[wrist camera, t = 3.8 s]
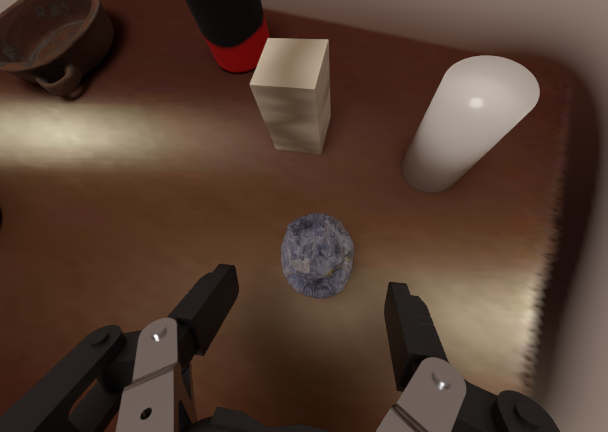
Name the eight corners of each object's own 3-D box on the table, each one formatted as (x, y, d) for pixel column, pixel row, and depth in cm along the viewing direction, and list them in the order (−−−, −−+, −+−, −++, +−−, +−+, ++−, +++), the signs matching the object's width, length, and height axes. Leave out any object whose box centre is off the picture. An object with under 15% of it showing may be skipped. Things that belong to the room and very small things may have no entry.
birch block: (275, 149, 25) (249, 84, 17) (287, 112, 26) (267, 38, 19) (321, 154, 24) (314, 89, 16) (330, 116, 25) (328, 39, 18)
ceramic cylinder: (392, 177, 22) (427, 102, 13) (415, 138, 23) (461, 46, 14) (444, 202, 20) (521, 135, 12) (467, 159, 21) (551, 70, 13)
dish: (17, 127, 32) (-38, 98, 27) (29, 34, 40) (-12, -2, 35) (134, 81, 32) (99, 44, 27) (123, -4, 40) (95, -44, 35)
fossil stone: (363, 255, 20) (388, 217, 10) (329, 309, 19) (322, 323, 9) (312, 223, 21) (294, 165, 12) (278, 272, 20) (229, 250, 11)
